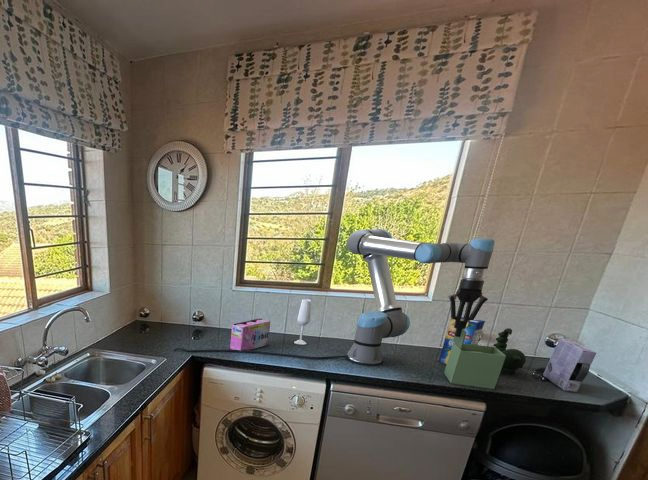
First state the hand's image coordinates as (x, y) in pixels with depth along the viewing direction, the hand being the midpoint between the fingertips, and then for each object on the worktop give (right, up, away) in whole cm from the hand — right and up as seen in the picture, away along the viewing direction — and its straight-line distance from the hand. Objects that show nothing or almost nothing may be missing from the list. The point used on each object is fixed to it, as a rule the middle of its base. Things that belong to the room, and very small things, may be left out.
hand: (457, 336), depth 169 cm
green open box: (+8, -19, +4) cm, 21 cm away
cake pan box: (+45, -21, +1) cm, 49 cm away
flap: (+1, 0, 0) cm, 1 cm away
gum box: (-76, -2, +47) cm, 90 cm away
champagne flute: (-45, +1, +55) cm, 72 cm away
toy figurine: (+35, -14, +18) cm, 42 cm away
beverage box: (+17, -11, +24) cm, 32 cm away
